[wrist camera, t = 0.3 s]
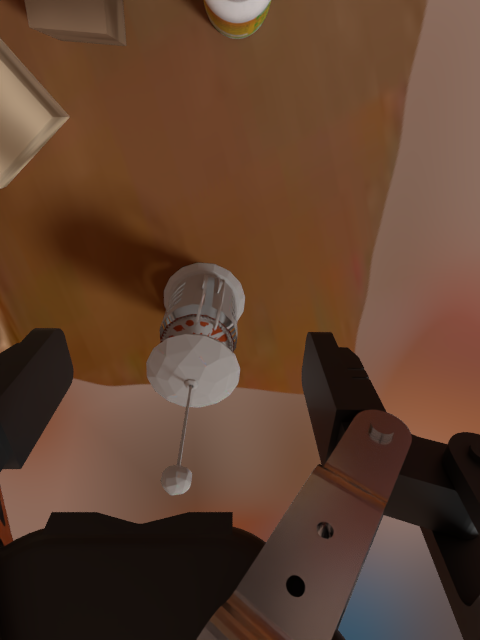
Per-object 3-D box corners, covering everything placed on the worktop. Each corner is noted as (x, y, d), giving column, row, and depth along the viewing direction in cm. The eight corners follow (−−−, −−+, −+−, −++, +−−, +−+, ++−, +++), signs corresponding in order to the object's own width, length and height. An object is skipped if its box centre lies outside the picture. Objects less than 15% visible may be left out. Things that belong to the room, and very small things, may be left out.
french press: (156, 324, 45) (83, 525, 23) (175, 237, 39) (102, 392, 17) (232, 343, 46) (231, 546, 24) (260, 261, 41) (291, 431, 19)
